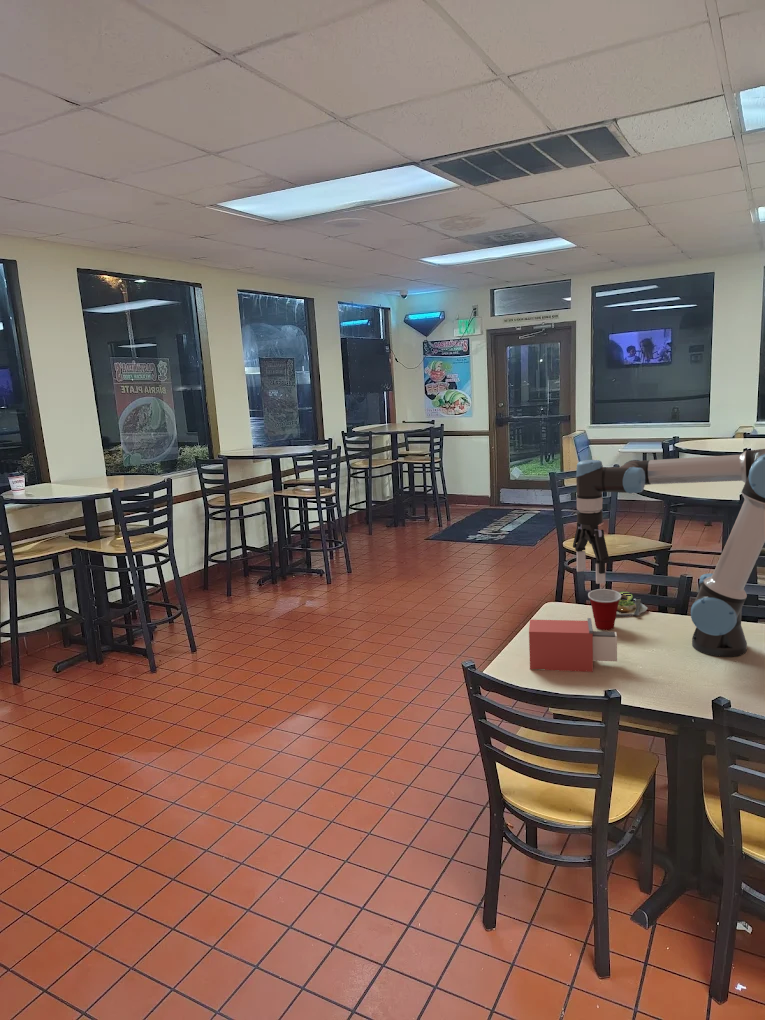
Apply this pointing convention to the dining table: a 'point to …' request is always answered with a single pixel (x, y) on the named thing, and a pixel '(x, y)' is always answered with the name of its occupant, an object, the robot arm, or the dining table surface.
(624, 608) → the salad plate
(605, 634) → the white rectangular block
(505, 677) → the dining table surface
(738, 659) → the dining table surface
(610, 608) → the plastic cup
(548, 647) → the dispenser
